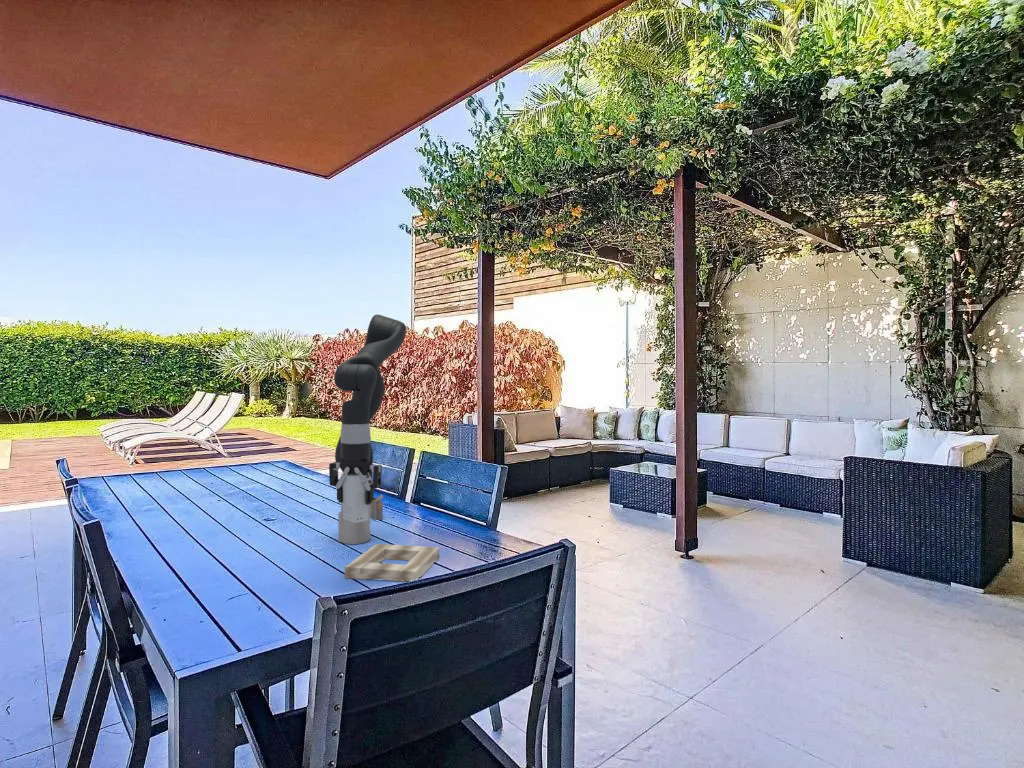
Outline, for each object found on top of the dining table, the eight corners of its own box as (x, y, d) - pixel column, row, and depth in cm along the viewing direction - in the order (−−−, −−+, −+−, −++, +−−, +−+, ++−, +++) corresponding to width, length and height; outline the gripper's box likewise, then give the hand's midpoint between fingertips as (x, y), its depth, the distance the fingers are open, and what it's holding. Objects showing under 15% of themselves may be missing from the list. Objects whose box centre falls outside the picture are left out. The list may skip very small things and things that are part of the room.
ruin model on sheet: (383, 521, 215) (383, 495, 214) (376, 522, 213) (375, 496, 213) (373, 515, 224) (373, 490, 224) (365, 516, 222) (365, 491, 222)
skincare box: (368, 520, 151) (369, 474, 150) (353, 523, 147) (353, 476, 147) (356, 515, 155) (356, 471, 154) (341, 518, 152) (341, 473, 151)
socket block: (344, 578, 155) (344, 567, 155) (376, 553, 176) (376, 543, 176) (415, 582, 152) (415, 571, 152) (439, 557, 172) (439, 547, 172)
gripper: (323, 441, 148) (322, 504, 149) (374, 443, 145) (374, 508, 146) (337, 437, 155) (337, 498, 156) (387, 439, 152) (386, 501, 153)
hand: (355, 503), depth 151 cm, fingers closed on skincare box, 7 cm apart
